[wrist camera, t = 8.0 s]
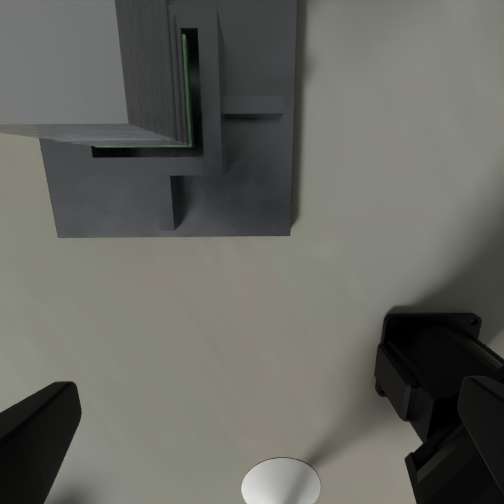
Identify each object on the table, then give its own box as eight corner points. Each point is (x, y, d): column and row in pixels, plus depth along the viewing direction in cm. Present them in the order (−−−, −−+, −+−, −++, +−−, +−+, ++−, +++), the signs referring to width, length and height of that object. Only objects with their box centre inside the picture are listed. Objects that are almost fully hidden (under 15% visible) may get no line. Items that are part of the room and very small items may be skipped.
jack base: (295, -37, 15) (313, -116, 11) (288, 232, 19) (299, 252, 15) (18, -37, 15) (-73, -117, 11) (67, 234, 19) (14, 254, 15)
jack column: (189, 43, 13) (104, -131, 5) (195, 147, 14) (132, 127, 6) (90, 43, 13) (-140, -132, 5) (104, 148, 14) (-67, 128, 6)
